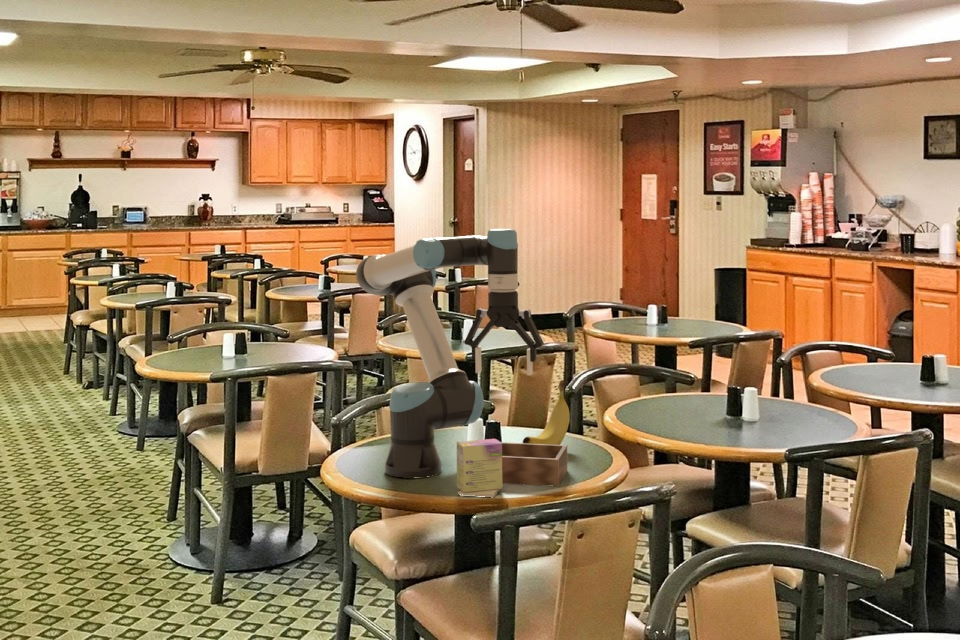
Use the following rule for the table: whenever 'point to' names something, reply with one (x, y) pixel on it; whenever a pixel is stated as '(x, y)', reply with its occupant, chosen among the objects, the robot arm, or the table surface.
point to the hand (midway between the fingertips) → (504, 373)
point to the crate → (533, 463)
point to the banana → (554, 423)
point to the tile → (481, 493)
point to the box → (479, 465)
